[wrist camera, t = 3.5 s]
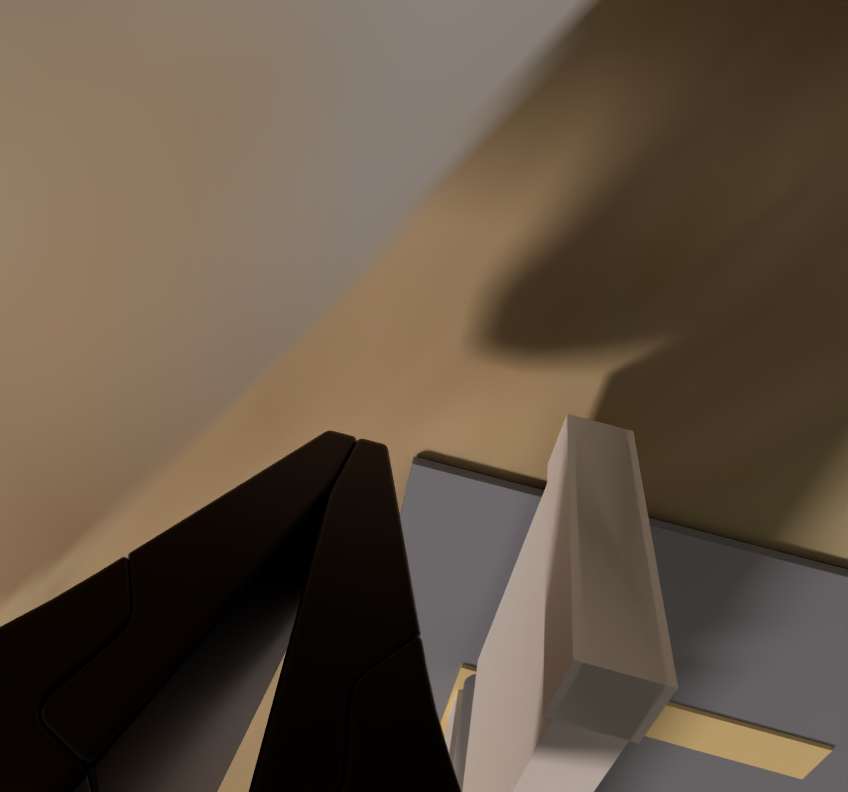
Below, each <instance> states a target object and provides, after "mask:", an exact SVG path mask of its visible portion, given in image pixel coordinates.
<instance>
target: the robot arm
mask: <svg viewBox="0 0 848 792" xmlns="http://www.w3.org/2000/svg"><path fill="white" fill-rule="evenodd" d="M420 636H421V631H420V626H419V620H418V615H417V609H416V603H415V598H414V592H413V587H412V581H411V575H410V570H409V564H408V559H407V553H406V547H405V542H404V536H403V531H402V525H401V519H400V514H399V508H398V503H397V497H396V491H395V486H394V480H393V475H392V469H391V463H390V458H389V452H388V448H387V446H386V445H384V444H381V443H378V442H374V441H370V440H366V439H359V440H358V441H356V438H355V437H353V436H350V435H347V434H343V433H339V432H335V431H326V432H324V433H323V434H321V435H320V436H318V437H316V438H315V439H313V440H311V441H310V442H308V443H307V444H305V445H303V446H302V447H300V448H299V449H297V450H295V451H294V452H292V453H290V454H289V455H287V456H286V457H284V458H282V459H281V460H279V461H278V462H276V463H274V464H273V465H271V466H269V467H268V468H266V469H265V470H263V471H261V472H260V473H258V474H257V475H255V476H253V477H252V478H250V479H248V480H247V481H245V482H244V483H242V484H240V485H239V486H237V487H236V488H234V489H232V490H231V491H229V492H227V493H226V494H224V495H223V496H221V497H219V498H218V499H216V500H215V501H213V502H211V503H210V504H208V505H206V506H205V507H203V508H202V509H200V510H198V511H197V512H195V513H194V514H192V515H190V516H189V517H187V518H185V519H184V520H182V521H181V522H179V523H177V524H176V525H174V526H173V527H171V528H169V529H168V530H166V531H164V532H163V533H161V534H160V535H158V536H156V537H155V538H153V539H152V540H150V541H148V542H147V543H145V544H143V545H142V546H140V547H139V548H137V549H135V550H134V551H132V552H131V553H129V555H128V559H127V558H126V557H122V558H120V559H119V560H117V561H115V562H114V563H112V564H111V565H109V566H107V567H106V568H104V569H103V570H101V571H99V572H98V573H96V574H94V575H93V576H91V577H89V578H88V579H86V580H84V581H82V582H81V583H79V584H77V585H76V586H74V587H72V588H71V589H69V590H67V591H65V592H64V593H62V594H60V595H59V596H57V597H55V598H53V599H52V600H50V601H48V602H46V603H44V604H42V605H41V606H39V607H37V608H35V609H33V610H31V611H29V612H27V613H25V614H24V615H22V616H20V617H18V618H16V619H14V620H12V621H10V622H8V623H7V624H5V625H3V626H1V627H0V792H217V791H218V789H219V787H220V785H221V783H222V781H223V779H224V777H225V774H226V772H227V770H228V768H229V766H230V764H231V762H232V760H233V758H234V756H235V754H236V752H237V750H238V748H239V746H240V744H241V742H242V740H243V738H244V736H245V734H246V732H247V730H248V727H249V725H250V723H251V721H252V719H253V717H254V715H255V713H256V711H257V709H258V707H259V705H260V703H261V701H262V699H263V697H264V695H265V693H266V691H267V689H268V687H269V685H270V683H271V680H272V678H273V676H274V674H275V672H276V670H277V668H278V666H279V664H280V662H281V660H282V658H283V656H284V654H285V652H286V655H285V658H284V662H283V666H282V670H281V673H280V677H279V681H278V684H277V688H276V692H275V696H274V699H273V703H272V707H271V711H270V714H269V718H268V722H267V726H266V729H265V733H264V737H263V741H262V744H261V748H260V752H259V755H258V759H257V763H256V767H255V770H254V774H253V778H252V782H251V785H250V789H249V792H461V789H460V786H459V783H458V780H457V777H456V774H455V771H454V768H453V764H452V761H451V758H450V755H449V751H448V748H447V744H446V741H445V737H444V734H443V730H442V727H441V723H440V720H439V717H438V713H437V710H436V705H435V700H434V696H433V691H432V687H431V682H430V677H429V673H428V668H427V663H426V657H425V652H424V646H423V641H422V639H421V638H420ZM286 650H287V651H286Z"/></svg>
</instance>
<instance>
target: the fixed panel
mask: <svg viewBox="0 0 848 792" xmlns="http://www.w3.org/2000/svg"><path fill="white" fill-rule="evenodd" d="M462 694H463V691H459V690H458V692H457V694H456V697H455V699H454V702H453V705H452V707H451V710H450V713H449V716H448V723H447V730H446V736H445V741H446V744H447V748H448V751H449V755H450V758H451V761H452V764H453V761H454V753H455V746H456V738H457V731H458V723H459V716H460V709H461V701H462Z"/></svg>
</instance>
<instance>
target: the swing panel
mask: <svg viewBox="0 0 848 792" xmlns="http://www.w3.org/2000/svg"><path fill="white" fill-rule="evenodd" d="M677 690H678V683H677V678H676V672H675V666H674V661H673V655H672V649H671V644H670V638H669V632H668V626H667V621H666V615H665V609H664V604H663V598H662V592H661V586H660V581H659V575H658V569H657V564H656V558H655V552H654V547H653V541H652V535H651V529H650V524H649V518H648V512H647V507H646V501H645V495H644V490H643V484H642V478H641V472H640V467H639V461H638V455H637V450H636V444H635V438H634V432H633V431H632V430H628V429H624V428H620V427H616V426H612V425H608V424H605V423H601V422H597V421H593V420H589V419H585V418H581V417H577V416H573V415H569V414H567V415H566V418H565V421H564V423H563V426H562V428H561V431H560V434H559V436H558V439H557V441H556V444H555V447H554V449H553V452H552V455H551V457H550V460H549V462H548V467H547V485H546V488H545V490H544V493H543V495H542V498H541V500H540V503H539V505H538V508H537V511H536V513H535V516H534V518H533V521H532V523H531V526H530V528H529V531H528V534H527V536H526V539H525V541H524V544H523V546H522V549H521V551H520V554H519V557H518V559H517V562H516V564H515V567H514V569H513V572H512V574H511V577H510V579H509V582H508V585H507V587H506V590H505V592H504V595H503V597H502V600H501V602H500V605H499V608H498V610H497V613H496V615H495V618H494V620H493V623H492V625H491V628H490V631H489V633H488V636H487V638H486V641H485V643H484V646H483V648H482V651H481V654H480V656H479V659H478V663H477V671H476V674H473V675H471V676H469V677H467V678H466V680H465V681H464V686H463V694H462V701H461V709H460V716H459V723H458V731H457V738H456V746H455V753H454V761H453V768H454V771H455V774H456V777H457V780H458V783H459V786H460V789H461V792H594V791H595V789H596V788H597V786H598V785H599V783H600V782H601V781H602V779H603V778H604V776H605V775H606V773H607V772H608V771H609V769H610V768H611V766H612V765H613V763H614V762H615V761H616V759H617V758H618V756H619V755H620V753H621V752H622V750H623V749H624V748H625V746H626V745H627V743H628V742H629V741H631V742H635V743H638V744H639V743H640V741H641V740H642V738H643V737H644V736H645V734H646V733H647V731H648V730H649V729H650V727H651V726H652V724H653V723H654V722H655V720H656V719H657V717H658V716H659V715H660V713H661V712H662V710H663V709H664V708H665V706H666V705H667V703H668V702H669V701H670V699H671V698H672V697H673V695H674V694H675V692H676V691H677Z"/></svg>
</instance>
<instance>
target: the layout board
mask: <svg viewBox="0 0 848 792" xmlns="http://www.w3.org/2000/svg"><path fill="white" fill-rule="evenodd" d="M543 493H544V490H541V489H537V488H533V487H529V486H525V485H522V484H518V483H514V482H510V481H506V480H502V479H498V478H495V477H491V476H487V475H483V474H479V473H475V472H472V471H468V470H464V469H460V468H456V467H452V466H449V465H445V464H441V463H437V462H433V461H429V460H426V459H422V458H418V457H414V459H413V462H412V466H411V471H410V475H409V479H408V484H407V488H406V492H405V497H404V501H403V506H402V510H401V514H400V519H401V525H402V531H403V536H404V542H405V547H406V553H407V559H408V564H409V570H410V575H411V581H412V587H413V592H414V598H415V603H416V609H417V615H418V620H419V626H420V631H421V636H420V638H421V639H422V641H423V646H424V652H425V657H426V663H427V668H428V673H429V677H430V682H431V687H432V691H433V696H434V700H435V705H436V710H437V713H438V717H439V720H440V723H441V727H442V730H443V734H444V737H445V736H446V730H447V723H448V716H449V713H450V710H451V707H452V705H453V702H454V699H455V697H456V694H457V692H458V690H459V691H463V686H464V681H465V680H466V678H467V677H469V676H471V675H473V674H476V671H477V663H478V659H479V656H480V654H481V651H482V648H483V646H484V643H485V641H486V638H487V636H488V633H489V631H490V628H491V625H492V623H493V620H494V618H495V615H496V613H497V610H498V608H499V605H500V602H501V600H502V597H503V595H504V592H505V590H506V587H507V585H508V582H509V579H510V577H511V574H512V572H513V569H514V567H515V564H516V562H517V559H518V557H519V554H520V551H521V549H522V546H523V544H524V541H525V539H526V536H527V534H528V531H529V528H530V526H531V523H532V521H533V518H534V516H535V513H536V511H537V508H538V505H539V503H540V500H541V498H542V495H543ZM649 524H650V529H651V535H652V541H653V547H654V552H655V558H656V564H657V569H658V575H659V581H660V586H661V592H662V598H663V604H664V609H665V615H666V621H667V626H668V632H669V638H670V644H671V649H672V655H673V661H674V666H675V672H676V678H677V683H678V690H677V691H676V692H675V694H674V695H673V697H672V698H671V699H670V701H669V702H668V703H667V705H666V706H665V708H664V709H663V710H662V712H661V713H660V715H659V716H658V717H657V719H656V720H655V722H654V723H653V724H652V726H651V727H650V729H649V730H648V731H647V733H646V734H645V736H644V737H643V738H642V740H641V741H640V743H639V744H638V743H635V742H631V741H629V742H628V743H627V745H626V746H625V748H624V749H623V750H622V752H621V753H620V755H619V756H618V758H617V759H616V761H615V762H614V763H613V765H612V766H611V768H610V769H609V771H608V772H607V773H606V775H605V776H604V778H603V779H602V781H601V782H600V783H599V785H598V786H597V788H596V789H595V791H594V792H848V569H844V568H840V567H836V566H832V565H828V564H825V563H821V562H817V561H813V560H809V559H805V558H802V557H798V556H794V555H790V554H786V553H782V552H779V551H775V550H771V549H767V548H763V547H759V546H756V545H752V544H748V543H744V542H740V541H736V540H733V539H729V538H725V537H721V536H717V535H713V534H709V533H706V532H702V531H698V530H694V529H690V528H686V527H683V526H679V525H675V524H671V523H667V522H663V521H660V520H656V519H652V518H649Z"/></svg>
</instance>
